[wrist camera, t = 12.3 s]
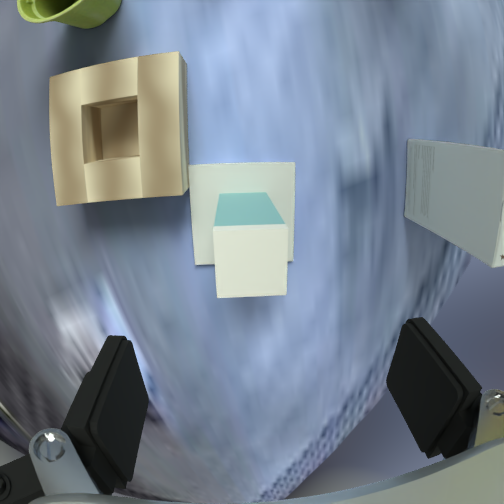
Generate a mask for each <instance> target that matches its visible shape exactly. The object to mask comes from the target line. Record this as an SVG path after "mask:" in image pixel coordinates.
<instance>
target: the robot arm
mask: <svg viewBox="0 0 504 504" xmlns="http://www.w3.org/2000/svg"><path fill="white" fill-rule="evenodd" d="M386 383H387V387H388V389H389V391H390V393H391V394H392V396H393V398H394V400H395V402H396V404H397V405H398V407H399V409H400V411H401V413H402V415H403V417H404V419H405V421H406V423H407V425H408V427H409V429H410V431H411V433H412V434H413V437H414V438H415V441H416V442H417V444H418V446H419V448H420V450H421V451H422V452H425V453H426V456H427V458H428V459H429V458H431V457H434V456H437V455H439V454H440V453H442V455H443V457H444V458H443V460H442V461H440V462H437V463H434V464H432V465H429V466H426V467H424V468H421V469H418V470H415V471H412V472H409V473H406V474H403V475H400V476H397V477H394V478H390V479H387V480H383V481H380V482H376V483H372V484H368V485H364V486H360V487H357V488H352V489H347V490H343V491H338V492H333V493H327V494H322V495H316V496H310V497H303V498H296V499H287V500H278V501H267V502H253V503H228V504H504V392H503V391H501V390H496V389H492V390H488V391H486V392H485V393H484V394H483V395H482V394H481V393H480V391H481V389H482V387H481V386H480V384H479V383H478V382H477V381H476V380H475V378H474V377H473V376H472V375H471V373H470V372H469V371H468V369H467V368H466V367H465V366H464V364H463V363H462V362H461V361H460V360H459V358H458V357H457V356H456V355H455V354H454V352H453V351H452V350H451V349H450V348H449V346H448V345H447V344H446V343H445V342H444V341H443V340H442V338H441V337H440V336H439V335H438V334H437V333H436V332H435V330H434V329H433V328H432V327H431V326H430V325H429V323H428V322H427V321H426V320H425V319H424V318H423V317H419V318H413V319H408V320H407V321H406V323H405V324H403V325H402V328H401V332H400V336H399V339H398V343H397V346H396V350H395V353H394V356H393V360H392V363H391V366H390V369H389V372H388V375H387V379H386ZM148 401H149V400H148V394H147V391H146V388H145V385H144V381H143V378H142V375H141V372H140V369H139V365H138V362H137V358H136V355H135V351H134V348H133V344H132V342H131V341H130V340H127V338H126V337H125V336H112V335H110V336H108V337H107V339H106V341H105V343H104V345H103V347H102V349H101V351H100V353H99V355H98V357H97V359H96V361H95V363H94V365H93V367H92V369H91V371H89V372H88V373H87V374H86V375H85V377H84V379H83V381H82V383H81V385H80V388H79V390H78V392H77V394H76V396H75V398H74V401H73V403H72V405H71V407H70V409H69V412H68V414H67V416H66V419H65V421H64V423H63V425H62V428H61V430H59V429H56V428H49V429H45V430H42V431H40V432H38V433H37V434H36V435H35V436H34V437H33V438H32V440H31V442H30V446H29V452H30V454H27V455H25V456H23V457H21V458H19V459H16V460H14V461H12V462H10V463H7V464H5V465H3V466H0V504H206V503H181V502H165V501H153V500H143V499H135V498H128V497H118V496H112V493H114V488H115V487H117V488H123V489H126V484H127V481H129V482H130V481H131V480H132V478H133V473H134V468H135V463H136V458H137V453H138V448H139V443H140V439H141V434H142V430H143V425H144V421H145V416H146V412H147V408H148Z"/></svg>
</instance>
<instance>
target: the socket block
mask: <svg viewBox="0 0 504 504" xmlns="http://www.w3.org/2000/svg"><path fill="white" fill-rule="evenodd" d="M49 118H50V143H51V157H52V169H53V178H54V187H55V195H56V202H57V206H62V205H71V204H80V203H90V202H100V201H111V200H122V199H134V198H147V197H161V196H177V195H183V194H184V193H185V192H186V190H187V189H188V188H189V169H188V166H189V149H188V118H187V64H186V62H185V61H184V59H183V57H182V56H181V54H180V53H179V51H178V52H168V53H160V54H153V55H146V56H139V57H133V58H127V59H122V60H117V61H112V62H107V63H102V64H98V65H93V66H89V67H85V68H81V69H77V70H73V71H69V72H66V73H62V74H59V75H55V76H52V77H50V86H49Z"/></svg>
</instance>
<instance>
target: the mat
mask: <svg viewBox="0 0 504 504" xmlns="http://www.w3.org/2000/svg"><path fill="white" fill-rule="evenodd" d="M188 169H189V188H190V204H191V219H192V233H193V245H194V257H195V265H206V264H215V259H214V242H213V227H214V222H215V216H216V210H217V205H218V199H219V194H222V193H252V192H266V193H267V195H268V196H269V198H270V199H271V201H272V203H273V204H274V206H275V208H276V209H277V211H278V212H279V214H280V216H281V217H282V219H283V221H284V222H285V224H286V226H287V227H288V261H293V248H294V212H295V162H251V163H219V164H198V165H189V166H188Z"/></svg>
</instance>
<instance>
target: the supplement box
mask: <svg viewBox="0 0 504 504" xmlns="http://www.w3.org/2000/svg"><path fill="white" fill-rule="evenodd" d="M404 216H405V217H406V218H407V219H409V220H411V221H413V222H415V223H417V224H419V225H420V226H422V227H424V228H426V229H428V230H429V231H431V232H433V233H435V234H437V235H438V236H440V237H442V238H444V239H445V240H447V241H449V242H451V243H452V244H454V245H456V246H457V247H459V248H461V249H462V250H464V251H466V252H467V253H469V254H471V255H472V256H474V257H476V258H477V259H479V260H480V261H482V262H483V263H485V264H487V265H488V266H490V267H491V268H494V267H500V266H504V150H501V149H495V148H489V147H483V146H476V145H469V144H461V143H452V142H443V141H432V140H420V139H408V140H407V178H406V198H405V212H404Z"/></svg>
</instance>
